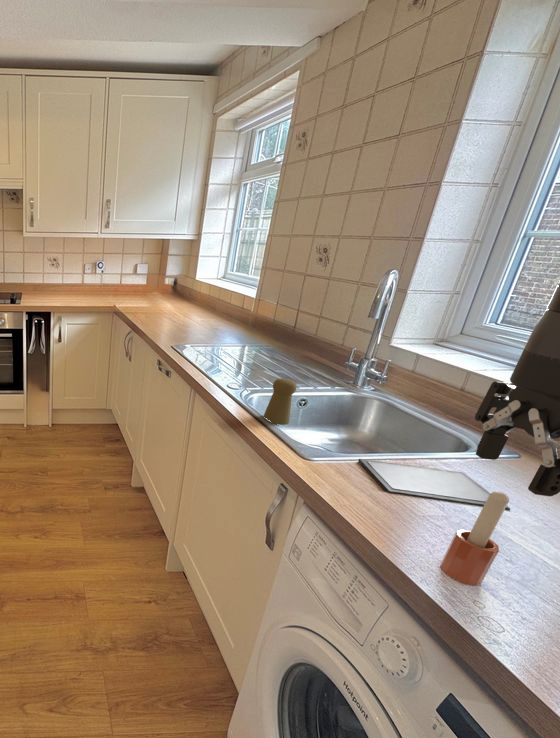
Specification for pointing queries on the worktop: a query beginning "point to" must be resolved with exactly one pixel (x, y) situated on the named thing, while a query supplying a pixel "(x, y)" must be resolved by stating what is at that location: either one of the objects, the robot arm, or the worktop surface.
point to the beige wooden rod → (488, 519)
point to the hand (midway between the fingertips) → (510, 474)
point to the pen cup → (468, 559)
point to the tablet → (426, 482)
